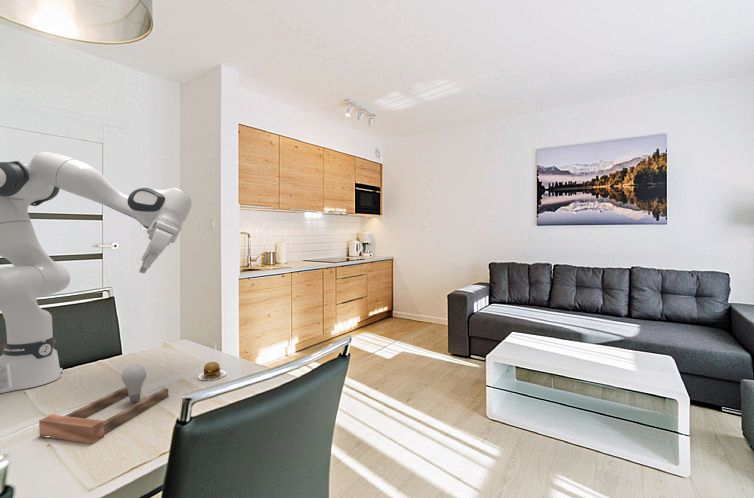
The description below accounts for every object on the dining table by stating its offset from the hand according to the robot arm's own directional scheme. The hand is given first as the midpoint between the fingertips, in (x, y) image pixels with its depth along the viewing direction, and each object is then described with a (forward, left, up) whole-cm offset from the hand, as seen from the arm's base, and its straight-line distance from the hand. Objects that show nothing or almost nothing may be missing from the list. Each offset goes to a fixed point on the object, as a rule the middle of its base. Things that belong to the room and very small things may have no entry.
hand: (143, 270), depth 116 cm
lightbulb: (+5, -9, -38) cm, 40 cm away
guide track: (+5, -17, -38) cm, 42 cm away
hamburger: (+15, +13, -39) cm, 43 cm away
